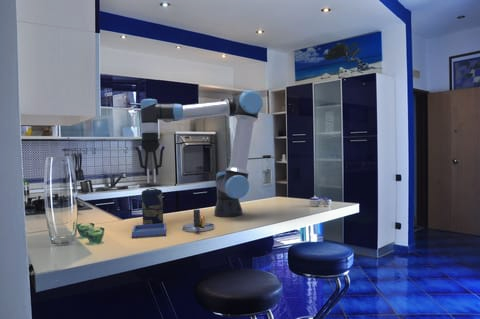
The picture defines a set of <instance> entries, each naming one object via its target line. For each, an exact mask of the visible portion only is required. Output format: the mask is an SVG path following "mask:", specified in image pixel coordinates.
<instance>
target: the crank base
mask: <svg viewBox="0 0 480 319" xmlns="http://www.w3.org/2000/svg"><path fill="white" fill-rule="evenodd" d="M205 219H206V218H205V216H204V215H200V229H195V227H194V222H190V223H185V224H183V225H182V226H181V227H182V231H184V232H187V233H205V232H209V231H213V230H214V229H215V224H214V223H213V222H207V221H206V220H205ZM205 221H206V222H205Z"/></svg>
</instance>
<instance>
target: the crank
mask: <svg viewBox="0 0 480 319" xmlns="http://www.w3.org/2000/svg"><path fill="white" fill-rule="evenodd" d="M200 210H201V209H193V223H194V227H195V229H200V216H201V211H200Z"/></svg>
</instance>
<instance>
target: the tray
mask: <svg viewBox="0 0 480 319" xmlns="http://www.w3.org/2000/svg"><path fill="white" fill-rule="evenodd" d="M166 226H167V224H166V222H165V223H164V222H163V223H162V224H147V225H143V224H135V225H133V228H132V231H131V239H140V238H141V239H142V238H158V237H166V236H167V228H166Z"/></svg>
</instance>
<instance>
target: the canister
mask: <svg viewBox="0 0 480 319" xmlns="http://www.w3.org/2000/svg"><path fill="white" fill-rule="evenodd" d="M163 203H164V202H163V191H162V189H158V188H155V187H150V188H146V189H144V190H142V191H141V208H142V209H141V210H142V213H141V214H142V215H141V216H142V225H147V224H162V223H164V208H163V207H164V204H163Z"/></svg>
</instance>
